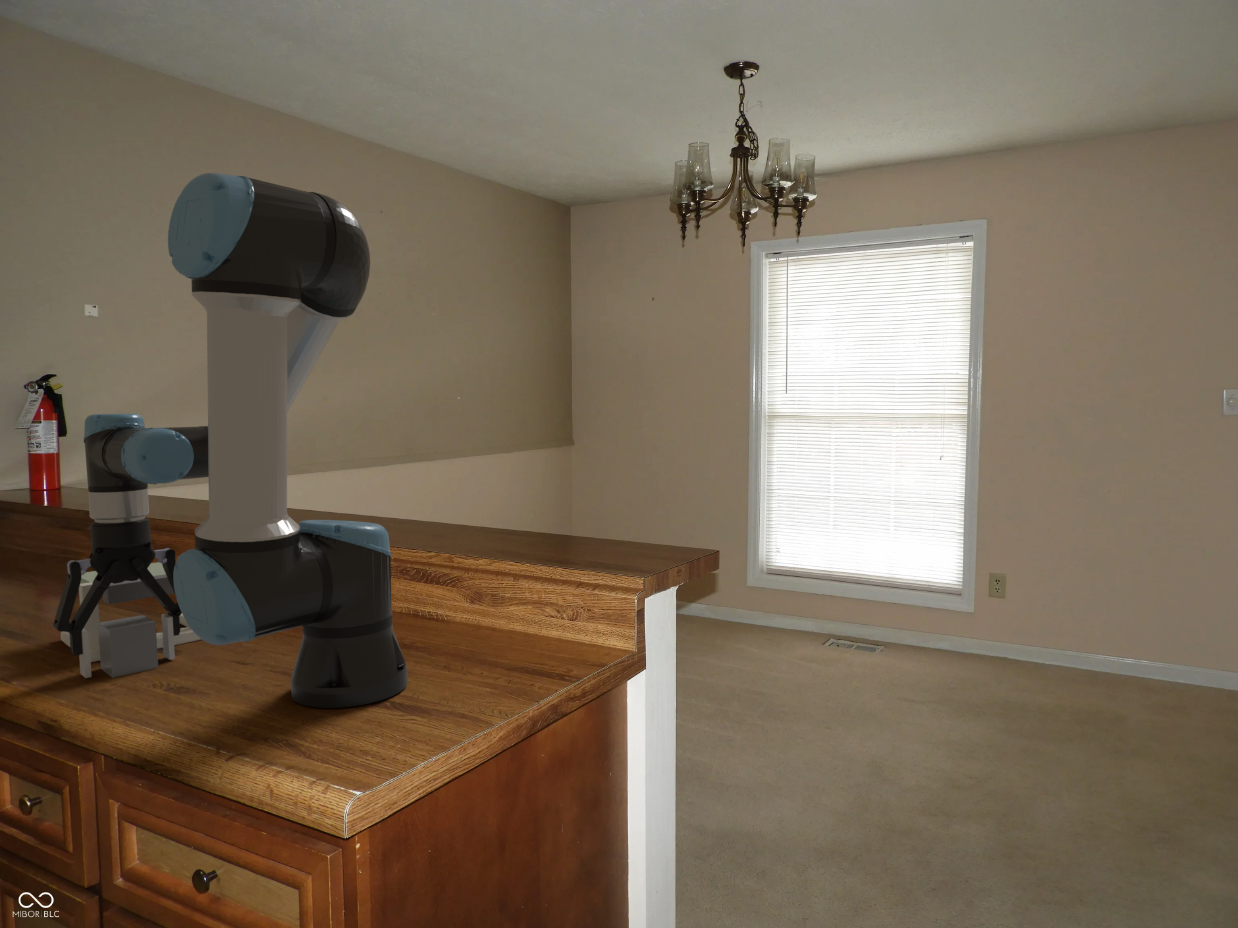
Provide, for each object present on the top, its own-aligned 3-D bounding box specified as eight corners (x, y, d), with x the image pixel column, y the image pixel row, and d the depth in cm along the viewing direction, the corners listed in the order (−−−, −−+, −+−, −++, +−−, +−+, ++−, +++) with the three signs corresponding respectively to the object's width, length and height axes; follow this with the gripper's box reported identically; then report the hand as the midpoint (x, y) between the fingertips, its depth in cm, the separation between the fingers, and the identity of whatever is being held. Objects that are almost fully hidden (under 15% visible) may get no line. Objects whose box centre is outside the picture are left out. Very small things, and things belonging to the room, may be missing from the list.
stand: (218, 635, 139) (214, 568, 138) (89, 662, 126) (84, 587, 125) (182, 617, 151) (178, 555, 150) (61, 640, 138) (56, 571, 137)
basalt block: (158, 667, 123) (155, 621, 122) (112, 678, 119) (109, 630, 118) (145, 659, 127) (142, 614, 127) (100, 668, 123) (97, 622, 122)
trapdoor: (201, 588, 136) (200, 572, 136) (105, 604, 126) (103, 586, 126) (165, 575, 149) (164, 559, 149) (74, 588, 139) (73, 572, 139)
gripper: (193, 508, 132) (201, 643, 134) (19, 525, 116) (30, 679, 117) (211, 512, 127) (218, 653, 129) (31, 531, 110) (43, 692, 112)
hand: (128, 666), depth 123 cm, fingers open, 10 cm apart
